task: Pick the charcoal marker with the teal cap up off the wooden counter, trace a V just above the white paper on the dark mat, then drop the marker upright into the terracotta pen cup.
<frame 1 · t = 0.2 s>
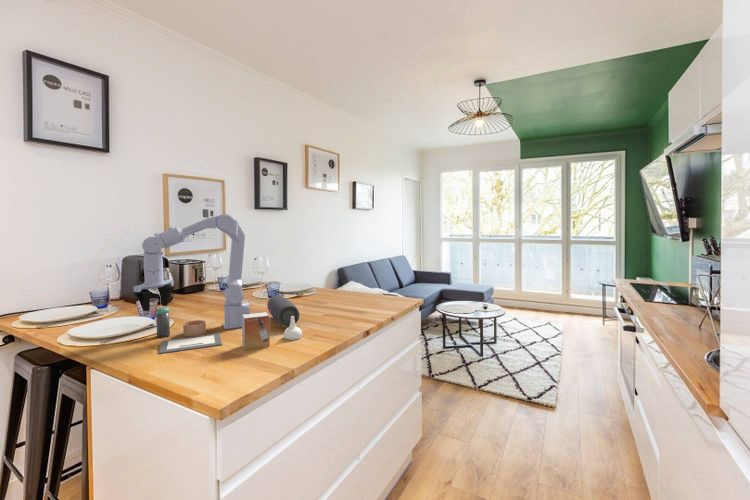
hand: (155, 308, 124), 10 cm above the worktop, tool pointing down, fingers open, 7 cm apart
small box: (256, 346, 115), on the worktop
marker: (163, 336, 125), on the worktop
bluetooth speaker: (282, 323, 143), on the worktop
pen cup: (194, 333, 128), on the worktop
garlic bulb: (292, 338, 124), on the worktop
writing mat: (191, 343, 117), on the worktop
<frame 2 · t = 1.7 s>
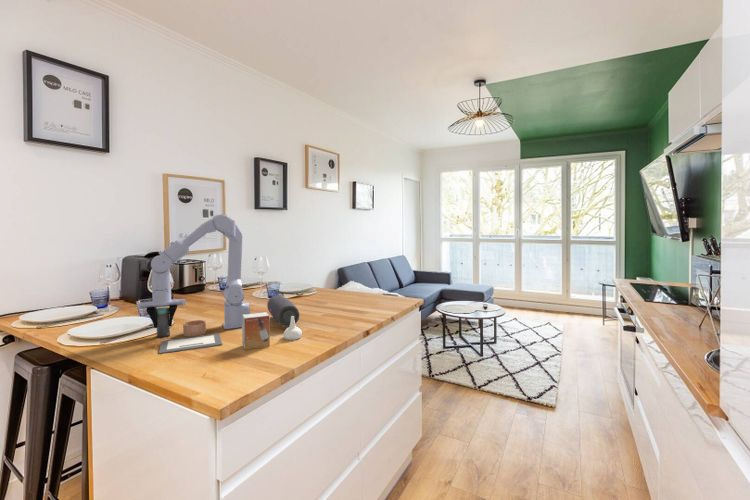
hand: (163, 326, 125), 3 cm above the worktop, tool pointing down, fingers closed on marker, 4 cm apart
marker: (163, 336, 125), on the worktop, touching gripper
everything else where it was.
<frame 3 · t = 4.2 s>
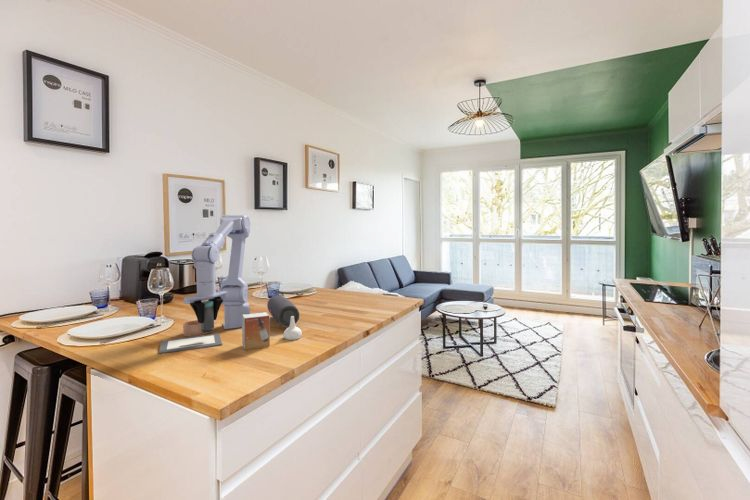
hand: (207, 321, 118), 7 cm above the worktop, tool pointing down, fingers closed on marker, 4 cm apart
marker: (207, 331, 118), point 4 cm above the worktop, touching gripper
everything else where it was.
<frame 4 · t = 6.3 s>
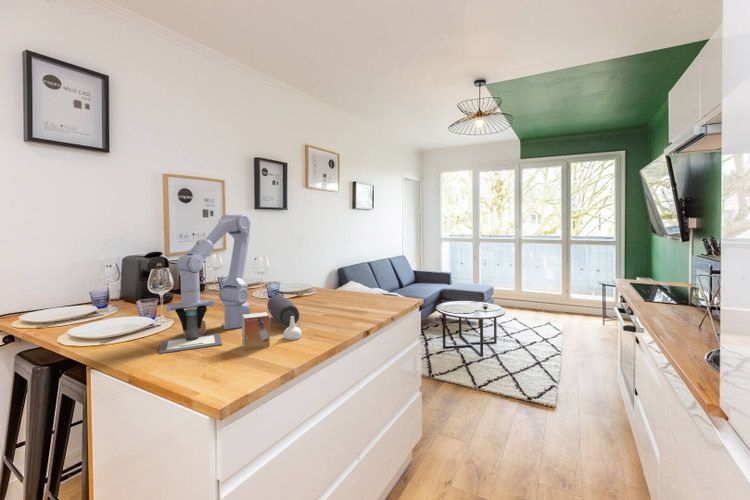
hand: (191, 328, 120), 4 cm above the worktop, tool pointing down, fingers closed on marker, 4 cm apart
marker: (192, 338, 120), point 1 cm above the worktop, touching gripper
everything else where it was.
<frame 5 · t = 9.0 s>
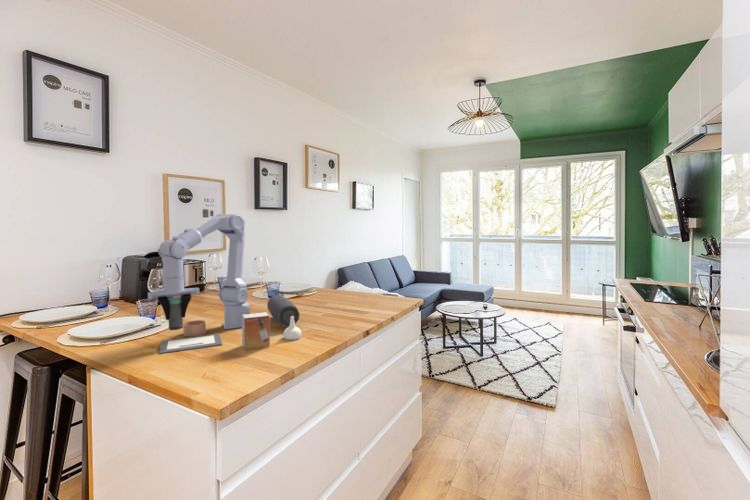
hand: (175, 318, 114), 9 cm above the worktop, tool pointing down, fingers closed on marker, 4 cm apart
marker: (175, 328, 114), point 6 cm above the worktop, touching gripper
everything else where it was.
when the fingers open (5 cm above the worktop, at t = 11.2 s): marker stays where it is, resting on pen cup.
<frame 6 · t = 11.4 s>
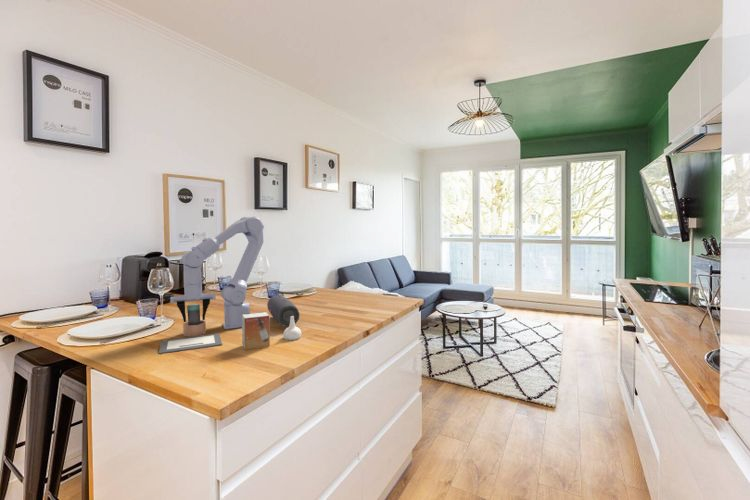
hand: (194, 320, 127), 5 cm above the worktop, tool pointing down, fingers open, 5 cm apart
marker: (194, 332, 128), point 1 cm above the worktop, touching pen cup
everything else where it was.
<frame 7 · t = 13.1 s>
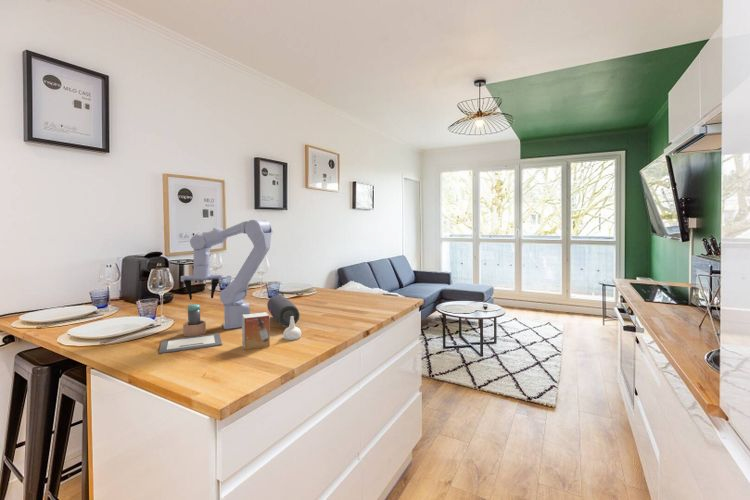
hand: (201, 298, 140), 10 cm above the worktop, tool pointing down, fingers open, 7 cm apart
nothing on the worktop moved.
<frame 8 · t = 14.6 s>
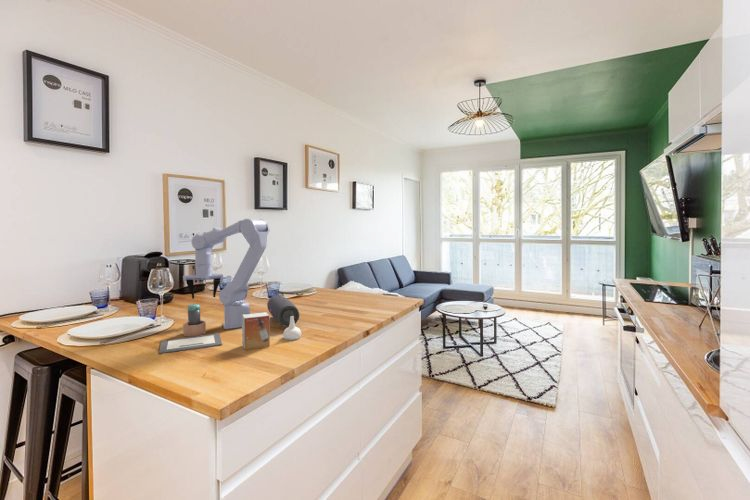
hand: (203, 297, 141), 10 cm above the worktop, tool pointing down, fingers open, 7 cm apart
nothing on the worktop moved.
at the end: marker 0.0 cm off-centre on the pen cup, point 0.5 cm above the pen cup's base; marker tilted 0°; the gripper is holding nothing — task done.
